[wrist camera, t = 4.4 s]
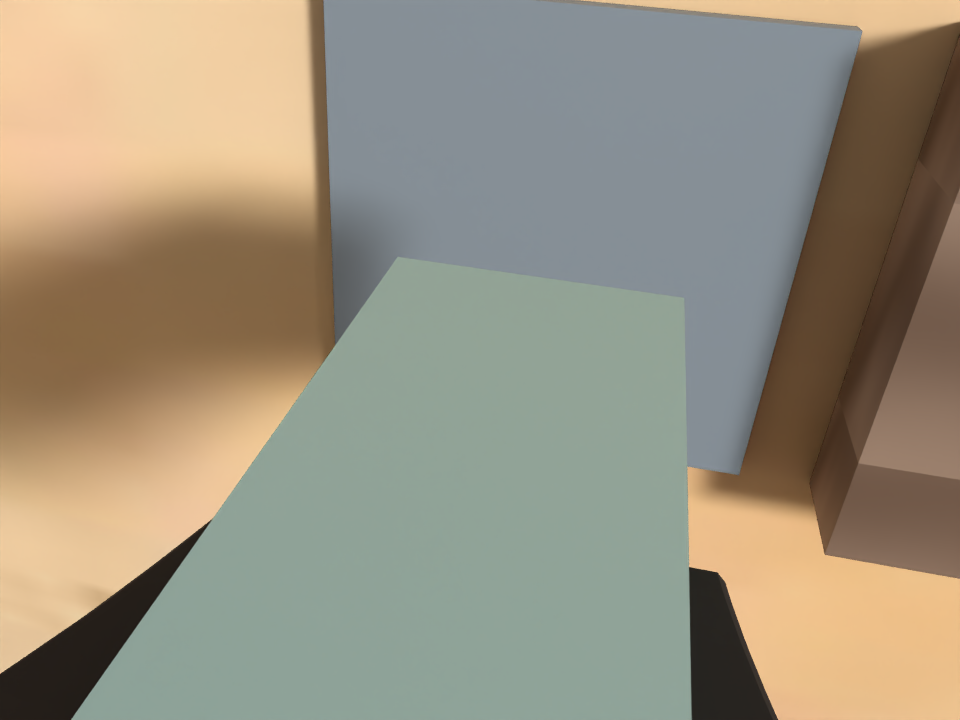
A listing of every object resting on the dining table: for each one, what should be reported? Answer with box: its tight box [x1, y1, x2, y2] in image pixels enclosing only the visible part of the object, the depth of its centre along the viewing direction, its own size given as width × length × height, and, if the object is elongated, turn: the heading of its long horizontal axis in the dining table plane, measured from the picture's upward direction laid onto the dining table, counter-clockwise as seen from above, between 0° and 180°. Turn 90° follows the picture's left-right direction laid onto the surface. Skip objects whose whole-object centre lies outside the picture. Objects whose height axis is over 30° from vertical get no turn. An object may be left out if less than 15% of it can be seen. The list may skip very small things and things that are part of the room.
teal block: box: [71, 257, 692, 720], centre depth 9 cm, size 4×4×9 cm
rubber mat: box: [323, 0, 862, 475], centre depth 18 cm, size 10×10×1 cm
